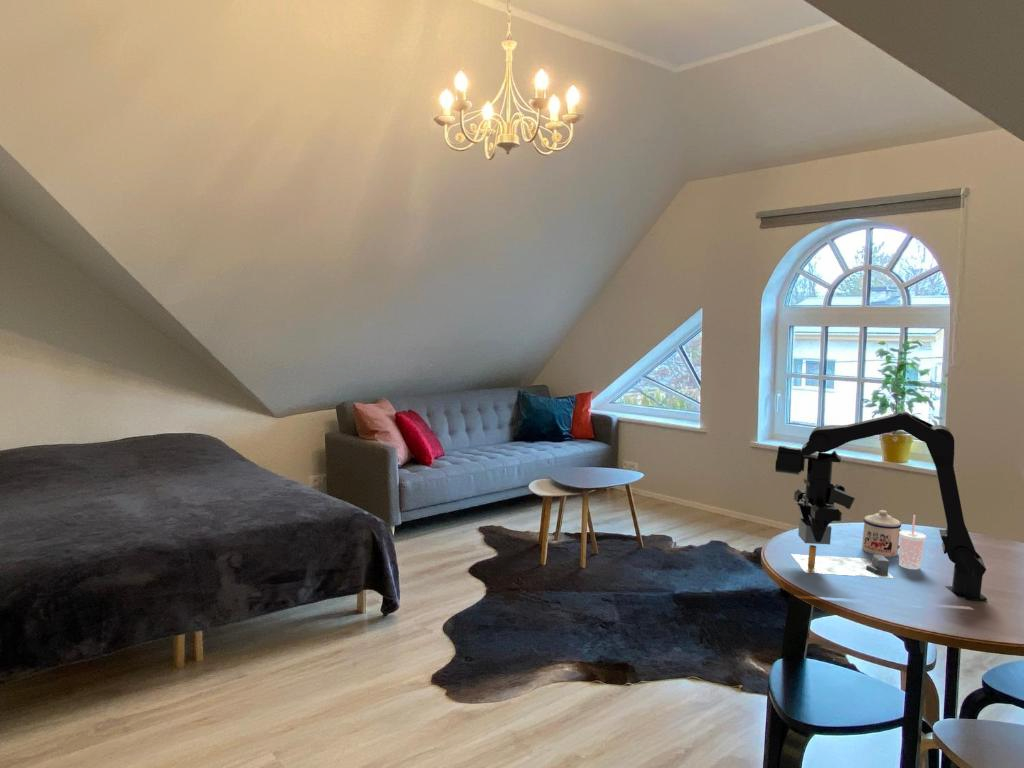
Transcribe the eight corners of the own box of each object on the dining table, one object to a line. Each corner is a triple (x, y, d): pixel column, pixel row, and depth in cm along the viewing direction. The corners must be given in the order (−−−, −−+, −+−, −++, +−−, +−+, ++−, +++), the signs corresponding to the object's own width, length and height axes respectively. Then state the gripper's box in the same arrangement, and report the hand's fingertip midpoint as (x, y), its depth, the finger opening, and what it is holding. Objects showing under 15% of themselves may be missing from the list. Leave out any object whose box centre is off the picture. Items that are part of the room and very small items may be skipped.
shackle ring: (830, 544, 184) (831, 526, 184) (805, 543, 185) (806, 525, 184) (822, 536, 190) (823, 519, 190) (798, 535, 191) (799, 518, 190)
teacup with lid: (857, 553, 200) (861, 511, 199) (864, 544, 208) (868, 504, 206) (907, 564, 193) (911, 520, 192) (913, 554, 201) (917, 512, 199)
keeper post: (815, 566, 188) (817, 547, 187) (808, 566, 188) (810, 547, 187) (813, 564, 189) (815, 545, 189) (807, 563, 189) (808, 544, 189)
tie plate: (893, 580, 182) (895, 566, 181) (805, 574, 184) (806, 560, 183) (873, 561, 194) (874, 547, 194) (790, 556, 196) (791, 543, 196)
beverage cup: (926, 573, 187) (931, 519, 185) (899, 571, 188) (905, 517, 186) (918, 565, 193) (923, 512, 191) (892, 562, 194) (897, 510, 192)
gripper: (866, 488, 176) (861, 552, 178) (839, 469, 194) (834, 527, 196) (817, 486, 177) (812, 549, 179) (795, 467, 195) (791, 525, 197)
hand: (814, 537), depth 188 cm, fingers closed on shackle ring, 6 cm apart
